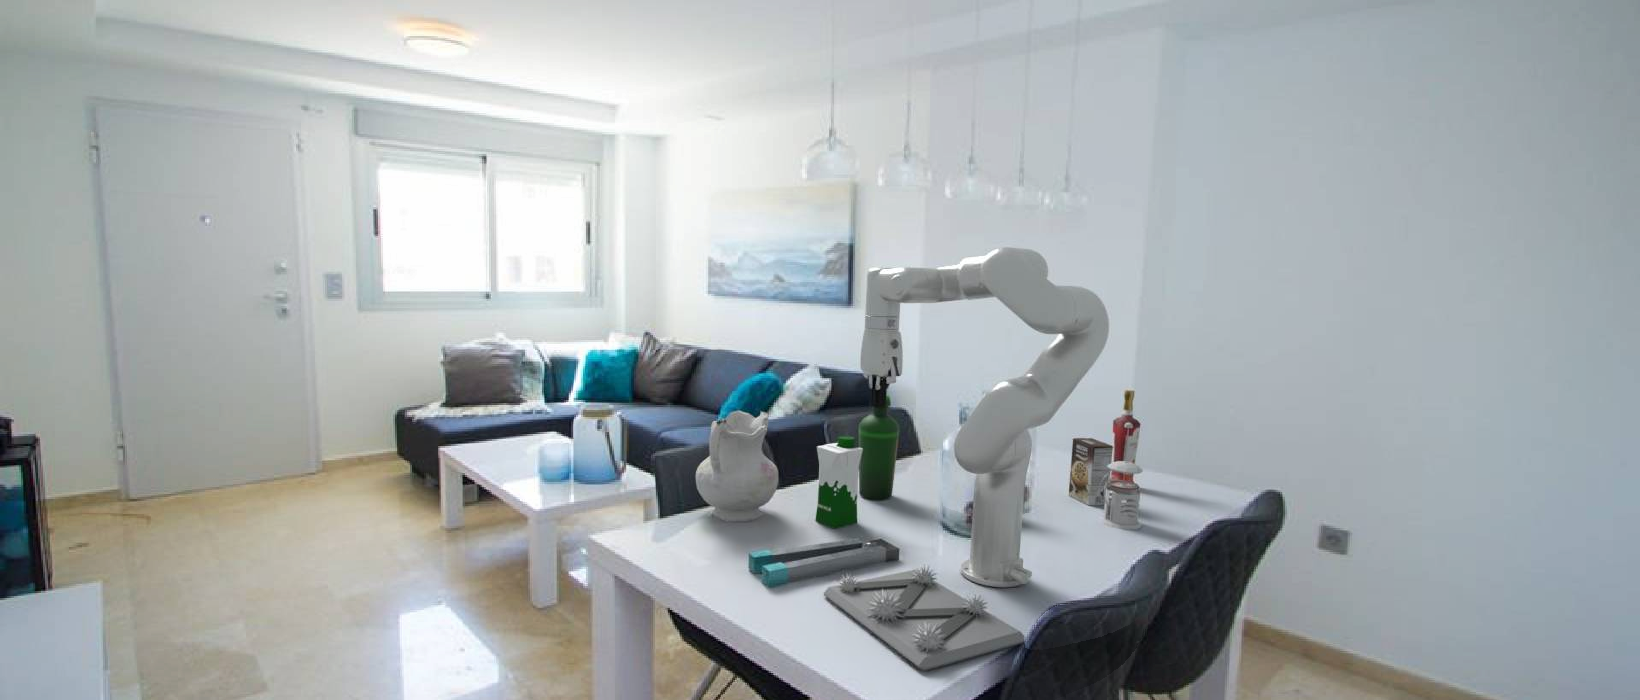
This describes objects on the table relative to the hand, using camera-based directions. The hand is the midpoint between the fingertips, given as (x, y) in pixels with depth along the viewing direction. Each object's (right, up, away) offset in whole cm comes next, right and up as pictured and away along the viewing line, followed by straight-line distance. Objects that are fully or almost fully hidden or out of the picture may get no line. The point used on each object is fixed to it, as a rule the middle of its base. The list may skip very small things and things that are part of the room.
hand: (877, 406), depth 169 cm
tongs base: (-11, -31, -17) cm, 37 cm away
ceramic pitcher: (-33, -27, +12) cm, 44 cm away
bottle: (+2, -26, +32) cm, 41 cm away
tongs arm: (-14, -30, -16) cm, 37 cm away
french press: (+60, -30, +18) cm, 70 cm away
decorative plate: (+4, -34, -38) cm, 51 cm away
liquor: (+74, -27, +52) cm, 95 cm away
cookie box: (+59, -28, +36) cm, 75 cm away
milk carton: (-9, -28, +10) cm, 31 cm away
